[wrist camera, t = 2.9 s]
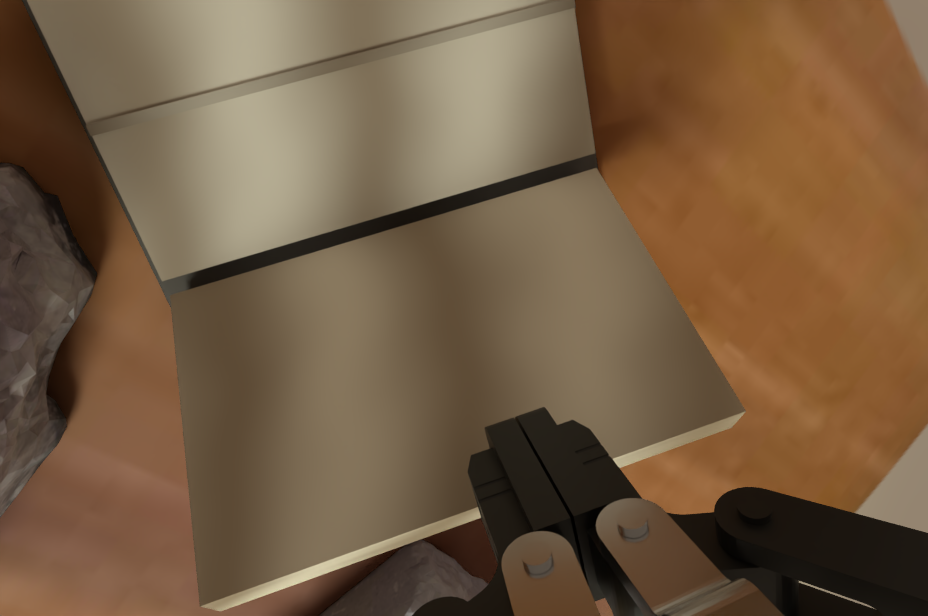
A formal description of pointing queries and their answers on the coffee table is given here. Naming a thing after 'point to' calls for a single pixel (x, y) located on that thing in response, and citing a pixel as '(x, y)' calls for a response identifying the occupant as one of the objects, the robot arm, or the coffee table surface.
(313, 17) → the laid floor
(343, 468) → the beige flat rectangular panel
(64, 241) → the geode
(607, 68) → the coffee table surface
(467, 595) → the stone block
